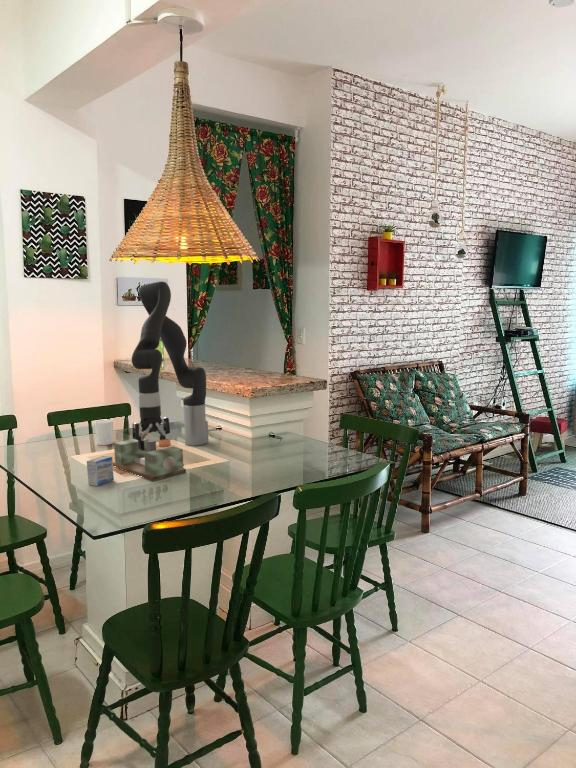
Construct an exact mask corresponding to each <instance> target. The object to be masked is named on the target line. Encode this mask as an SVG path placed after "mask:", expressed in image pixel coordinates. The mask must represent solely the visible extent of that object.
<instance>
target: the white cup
mask: <svg viewBox="0 0 576 768" xmlns="http://www.w3.org/2000/svg"><path fill="white" fill-rule="evenodd" d="M94 431H95V438H96V444H97V445H98V446H108V445H112V444H114V420H113V419H98V420H94Z"/></svg>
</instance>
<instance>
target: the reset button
mask: <svg viewBox="0 0 576 768" xmlns="http://www.w3.org/2000/svg"><path fill="white" fill-rule="evenodd" d="M158 447H160V448H169V447H172V445H171V439H169V438H166V439H162V440H160V439H159V440H158Z"/></svg>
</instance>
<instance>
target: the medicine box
mask: <svg viewBox="0 0 576 768" xmlns="http://www.w3.org/2000/svg"><path fill="white" fill-rule="evenodd" d="M86 469H87V470H86V471H87V472H86V473H87V482H88V483H87V484H88V485H89V486H94V487H99V486H102V485H105V484H107V483H110V481H111V482H113V481H114V480H115V478H114V467H113V457H112V456H109V455H101V456H99V457H95V458H92V459H88V460H86ZM112 480H113V481H112Z"/></svg>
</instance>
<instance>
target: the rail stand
mask: <svg viewBox="0 0 576 768" xmlns="http://www.w3.org/2000/svg"><path fill="white" fill-rule="evenodd" d="M143 441H144V447H145V450H144V451H141V450H140V449H139V447H138V440H136V439H133V438H131V439H126V440H123V441H117V442H116V441H115V442H113V446H114V462H113V466H116V467H118V468H121V469H123V470H122V471H124V470H126V471H128V472H127V473H129V472H131V473H133V474H132V475H134V474H136V475H135V476H137V475H139V476H142V477H144V478H143V479H145V478H146V479H145V480H147V479H148V480H147V481H150V482H155V481H160V480H163V479H167V478H170V477H175V476H180V475H183V474H186V473H187V469H186V468H184V453H183V452H184V451H183V448H180V447H176V446H169V447H163V448H160V449H156V450H155V451H150V452H147V441H150V439H148V438H146V437H145V438H144V440H143ZM140 458H145V465H142V464H140ZM116 467H115V468H116ZM118 468H117V469H118ZM121 469H120V470H121ZM126 471H125V472H126ZM131 473H130V474H131ZM139 476H138V477H139ZM142 477H141V478H142Z"/></svg>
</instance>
